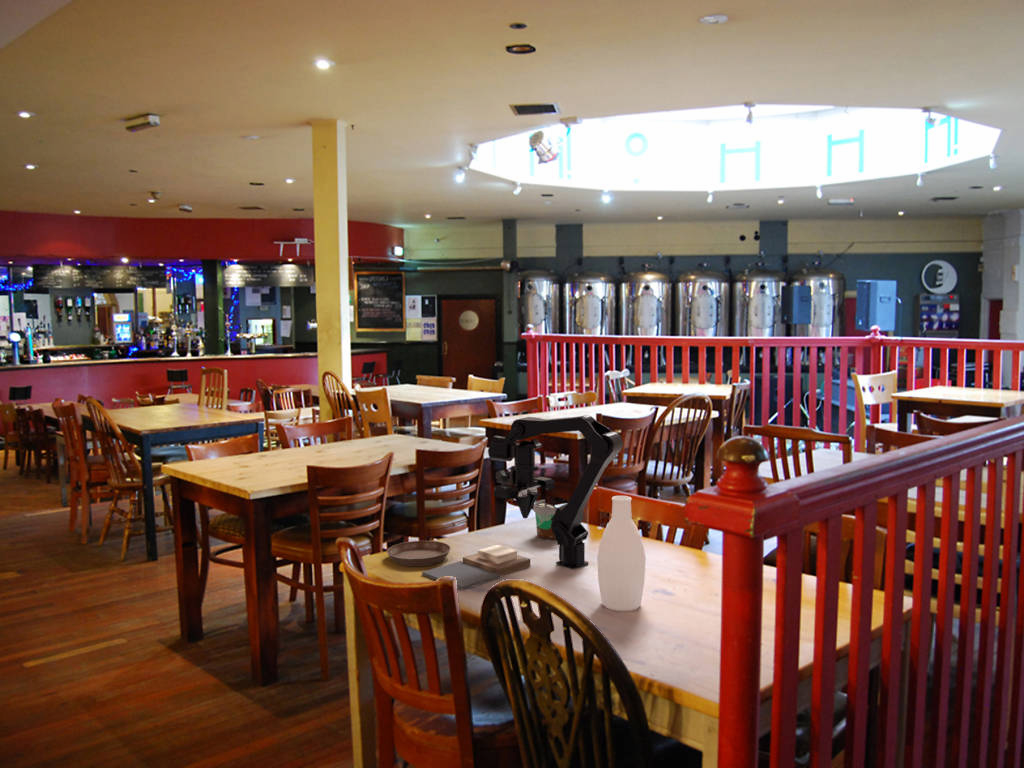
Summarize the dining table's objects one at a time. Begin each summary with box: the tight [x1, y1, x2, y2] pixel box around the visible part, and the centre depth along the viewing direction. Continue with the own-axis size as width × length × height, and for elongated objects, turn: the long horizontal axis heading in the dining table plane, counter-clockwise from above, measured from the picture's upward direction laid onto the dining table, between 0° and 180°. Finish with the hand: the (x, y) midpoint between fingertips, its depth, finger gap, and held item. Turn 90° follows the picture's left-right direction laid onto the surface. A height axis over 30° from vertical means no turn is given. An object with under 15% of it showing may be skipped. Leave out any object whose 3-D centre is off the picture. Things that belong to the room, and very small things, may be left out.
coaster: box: [477, 544, 518, 564], centre depth 215 cm, size 8×7×2 cm
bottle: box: [597, 495, 647, 612], centre depth 184 cm, size 11×11×25 cm
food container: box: [532, 499, 558, 541], centre depth 241 cm, size 12×6×10 cm, turn 25°
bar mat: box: [421, 560, 501, 591], centre depth 206 cm, size 16×13×1 cm
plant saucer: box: [386, 540, 452, 567], centre depth 222 cm, size 18×18×3 cm
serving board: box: [462, 553, 531, 577], centre depth 215 cm, size 14×12×2 cm
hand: (525, 518), depth 221 cm, fingers closed
